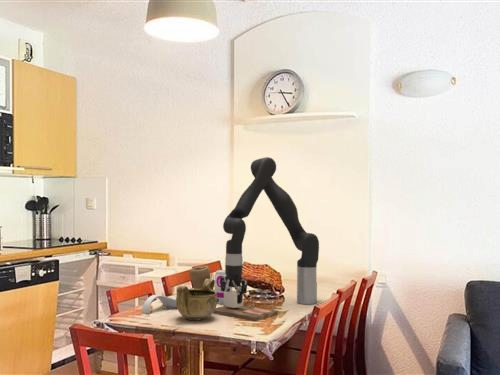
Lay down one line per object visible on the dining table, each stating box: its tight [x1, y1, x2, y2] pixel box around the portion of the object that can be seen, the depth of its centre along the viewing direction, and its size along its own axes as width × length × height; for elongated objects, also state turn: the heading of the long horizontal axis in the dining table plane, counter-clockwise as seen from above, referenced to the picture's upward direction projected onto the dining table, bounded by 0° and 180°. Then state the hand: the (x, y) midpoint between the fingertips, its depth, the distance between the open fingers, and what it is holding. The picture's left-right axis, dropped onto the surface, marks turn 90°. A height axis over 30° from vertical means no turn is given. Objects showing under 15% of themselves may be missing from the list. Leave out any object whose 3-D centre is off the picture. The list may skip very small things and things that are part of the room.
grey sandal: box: [141, 294, 177, 315], centre depth 232 cm, size 24×12×7 cm, turn 147°
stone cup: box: [189, 265, 215, 291], centre depth 264 cm, size 15×12×15 cm
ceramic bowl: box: [175, 278, 218, 321], centre depth 215 cm, size 22×17×15 cm
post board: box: [212, 304, 279, 322], centre depth 225 cm, size 16×24×8 cm, turn 53°
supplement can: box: [214, 269, 233, 305], centre depth 248 cm, size 8×8×15 cm
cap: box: [223, 289, 244, 308], centre depth 229 cm, size 6×6×6 cm
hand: (233, 302), depth 229 cm, fingers closed on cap, 6 cm apart
